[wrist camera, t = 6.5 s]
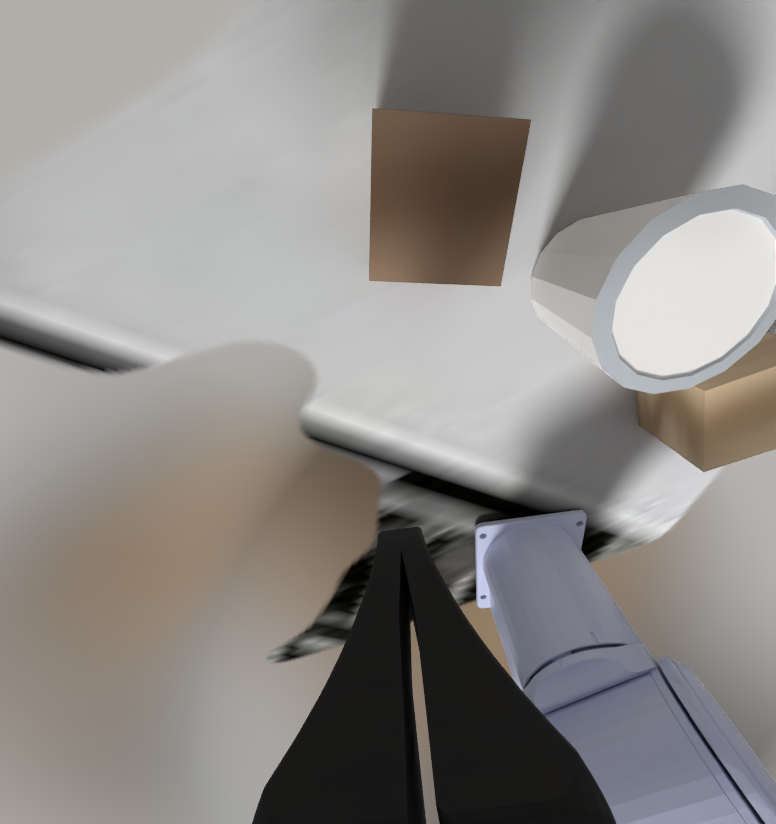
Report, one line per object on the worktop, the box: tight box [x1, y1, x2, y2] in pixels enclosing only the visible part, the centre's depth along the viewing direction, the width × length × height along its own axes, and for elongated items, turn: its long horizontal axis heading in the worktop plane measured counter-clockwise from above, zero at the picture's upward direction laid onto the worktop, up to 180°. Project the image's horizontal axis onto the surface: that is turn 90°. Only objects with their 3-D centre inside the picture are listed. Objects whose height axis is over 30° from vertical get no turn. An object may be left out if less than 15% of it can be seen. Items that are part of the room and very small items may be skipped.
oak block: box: [636, 333, 776, 472], centre depth 19 cm, size 5×5×5 cm
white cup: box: [530, 184, 776, 394], centre depth 15 cm, size 7×7×7 cm
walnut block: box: [369, 108, 531, 286], centre depth 14 cm, size 5×5×5 cm
